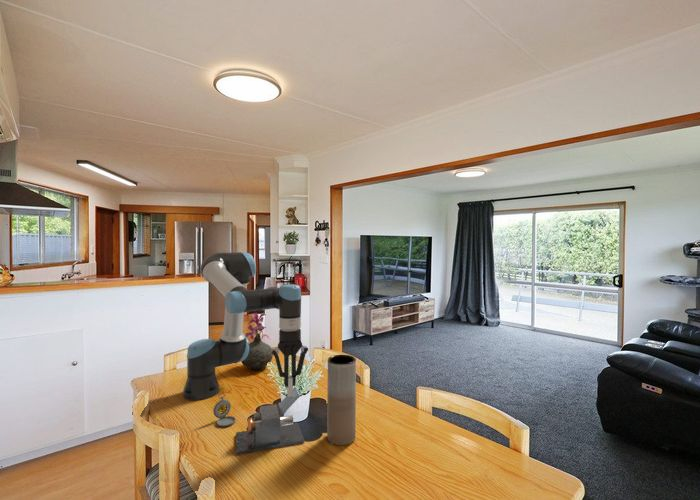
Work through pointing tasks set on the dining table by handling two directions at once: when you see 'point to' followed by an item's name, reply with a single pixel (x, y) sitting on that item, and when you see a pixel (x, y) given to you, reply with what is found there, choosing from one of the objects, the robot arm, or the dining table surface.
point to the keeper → (288, 402)
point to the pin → (251, 424)
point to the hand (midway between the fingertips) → (289, 395)
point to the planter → (341, 399)
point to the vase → (257, 346)
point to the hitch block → (268, 433)
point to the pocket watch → (223, 420)
